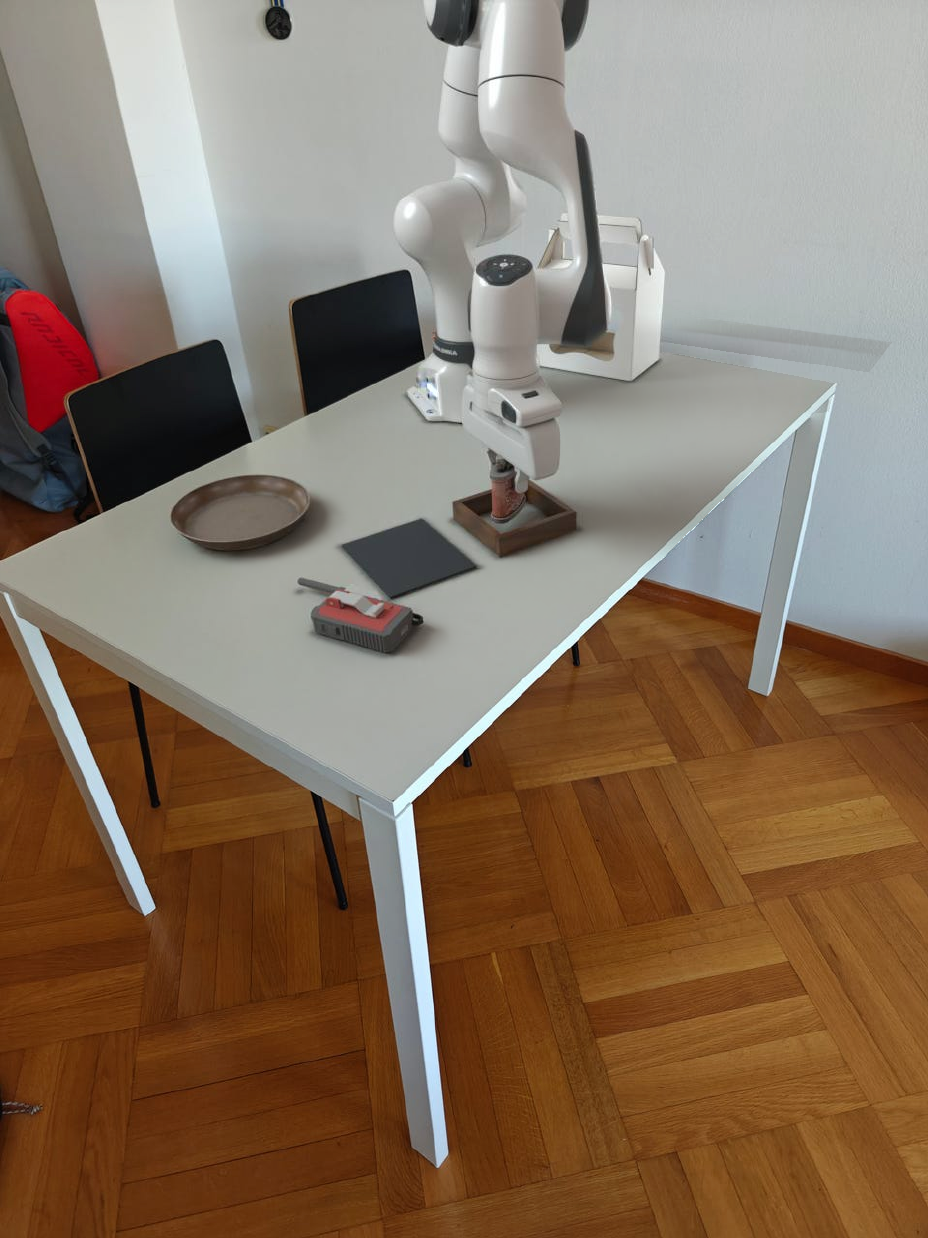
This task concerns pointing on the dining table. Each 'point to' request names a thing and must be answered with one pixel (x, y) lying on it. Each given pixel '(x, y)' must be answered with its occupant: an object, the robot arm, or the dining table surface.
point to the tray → (520, 538)
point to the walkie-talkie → (361, 617)
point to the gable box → (615, 305)
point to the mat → (407, 558)
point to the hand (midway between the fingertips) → (508, 482)
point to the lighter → (504, 492)
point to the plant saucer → (240, 511)
